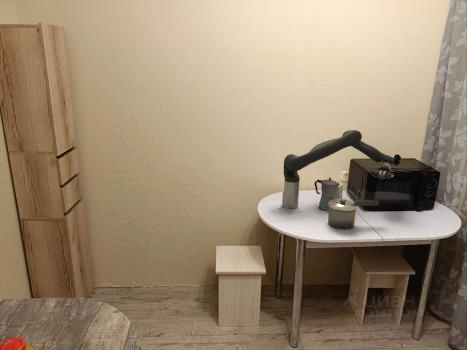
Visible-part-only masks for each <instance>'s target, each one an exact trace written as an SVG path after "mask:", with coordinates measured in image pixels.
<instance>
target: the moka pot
mask: <svg viewBox="0 0 467 350" xmlns="http://www.w3.org/2000/svg"><path fill="white" fill-rule="evenodd" d="M318 183H319V184H321V191H320V192H319V190H318ZM339 185H340V182H337V181H336V180H333V179H332V177H328V179H323V180H321V179H316V180H315V181H314V187H315V193H316V194H317V195H321V196H320V198H319V203H318V208H319V209H320V210H324V211H329V205H328V203H329V201H330V200H333V196H334V194H335V191H336V189H337V188H338V186H339Z"/></svg>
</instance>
